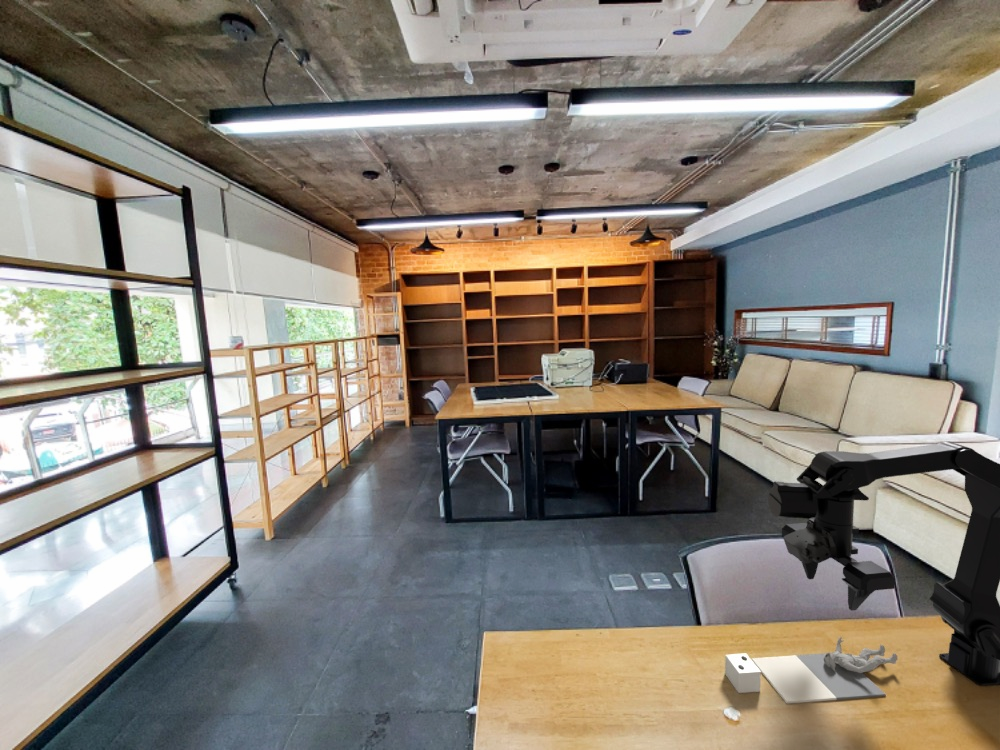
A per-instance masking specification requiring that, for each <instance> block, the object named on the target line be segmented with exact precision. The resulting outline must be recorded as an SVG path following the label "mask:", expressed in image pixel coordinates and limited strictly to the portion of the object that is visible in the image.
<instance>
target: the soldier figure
mask: <svg viewBox="0 0 1000 750" xmlns="http://www.w3.org/2000/svg"><path fill="white" fill-rule="evenodd" d="M843 638H844V637H843V636H840V637H838V638H837V639H838V640H837V642H836V646H835V650H834V652H833V653H834V654H833V655H832V657H833V658H834V659H833V658H832V657H831V655H830V653H831V652H826V653H827V654H826V655H825V657H824V662H825V663H826V664H827V665H828V666H829V667H831V668H832V669H833V670H834V671H835V667H836V665H835V663H837V664H839V665H840V666H841V667H843V668H845V669H847V670H850V671H854V672H858V673H863V674H864V673H868V672H871V671H873V670H874V669H877V668H878V666H880V665H882V664H883V665H884V664H885V665H886V664H892V665H895V664H896V663H897V661H898V655H897V653H895V652H893V653H892V655H891V656H889V657H884V656H885V652H886V648H885V646H884V644H880V645H879V648H878V649H870V648H867V647H865V648H863V649H862V650H861V651H860V652H859V654H858V655H855V654H854V655H853V654H852V653H843V652H842V646H841V644H842V643H843V642H844V640H842V639H843ZM872 656H873V657H872ZM871 657H872V658H871Z"/></svg>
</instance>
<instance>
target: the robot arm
mask: <svg viewBox="0 0 1000 750" xmlns="http://www.w3.org/2000/svg"><path fill="white" fill-rule="evenodd" d="M951 470H953V471H954V472H956V473H959V474H960V475H962V476H963V477H964V491H965V494H966V497H967V498H968V502H969V503H970V507H971V512H970V516H969V520H968V524H967V528H966V532H965V536H964V539H963V542H962V543H963V544H962V548H961V551H960V556H959V560H958V564H957V568H956V571H955V574H954V578H953V579H952V580H949V581H948V582H946V583H944V584H943V583H940V582H935V583H933V592H932V594H931V596H930V597H929V601H930V602H932V607H933V610H935V612H936V613H937V614H938V616H940V618H941V620H942V622H943V623H945V624H946V625H947V626H949V627H950V628H952V629H953V633H951V635H950V642H949V645H948V646H949V647H948V652H947V653H945V652H944V653H939V654H938V655H939V656H938V657H939V658H940V659H941V660H943V661H945V662H946V663H947V664H948V665H950V666H951V667H953V668H954V669H955V670H957V671H958V672H960V673H961V674H963V675H964V677H967V678H968V679H969V680H971V681H972V682H974V683H975V684H977V685H978V686H981V687H983V686H984V687H985V686H995V685H996V686H997V685H1000V603H999V600H998V597H997V592H998V588H999V585H1000V463H999V462H997V461H994V460H992V459H991V458H988V457H987V456H984V455H983V454H981V453H979V452H978V451H976V450H974V449H973V448H971V447H968V446H964V445H962V444H959V443H955V442H952V441H940V442H936V443H934V444H927V445H920V446H913V447H906V448H905V447H904V448H898V449H891V450H884V451H877V452H868V453H865V452H863V453H862V452H861V453H859V452H851V451H838V450H836V451H831V450H829V451H820V452H818V453H816V454H815V455H814V457H813V458H812V460H811V462H810V464H809V465H807V467H806V468H805V469H804V470H803V471H802V472H801V473H800V475H798V476H797V478H796V481H797V482H784V481H777V480H776V481H774V482H773V486H772V487H770V489H769V491H768V493H767V502H768V506H769V507H768V508H769V510H770V512H771V514H772V515H773V516H774V517H775V518H786V519H787V518H791V519H807V520H808V521H807V522H799V523H797V522H796V523H786V524H785V525H784V526H783V527H782V528H781V537H782V539H783V542H784V544H785V547H786V550H787V552H788V553H789V554H790V555H792V556H794V557H795V558H796V559H798V561H800V562H801V564H802V567H803V569H804V572H805V575H806V578H807V580H814V578H815V576H816V574H817V569H818V566H819V564H820V563H822V562H825V561H828V560H830V559H832V560H833V561H836V562H837V563H839V565H840V564H841V565H842V566H843V568H842V574H843V577H842V578H841V580H842V581H843V582H844V584H845V585H847V605H848V610H850V612H851V611H852V612H853V611H857V610H858V609H859V607H860V606H861V605H862V604H863V603H864V602H865V601H866V600H867V599H868V598H869V597H870V595H872V594H873V593H874V592H875V591H883V590H893V589H895V586H896V575H894V574H893V573H892V572H891V571H889V570H888V569H885V567H882V566H881V565H879V564H878V563H875V562H874V561H872V560H866V561H864V560H863V561H858V560H857V559H856V558H853V557H852V555H858V554H859V549H858V548H857V547H855V546H854V545H853V535H856V534H860V528H859V527H858V526H855V525H854V511H855V510H854V509H855V508H854V507H855V501H869V500H870V498H869V496H867V494H864V493H863V492H862V490H861V489H860V488H865V487H868V486H869V485H871V484H872V483H874V482H875V481H876V480H880V479H884V478H892V477H900V476H908V475H917V474H924V473H925V474H926V473H933V472H941V471H951ZM817 479H819V480H821V481H822V482H823V483H824V484H822V483H820V482H819V481H817Z"/></svg>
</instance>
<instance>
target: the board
mask: <svg viewBox="0 0 1000 750" xmlns="http://www.w3.org/2000/svg"><path fill="white" fill-rule="evenodd" d="M827 653H828V652H823V653H809V654H796V655H794V654H793V655H779V656H766V657H752V658H751V660H752V661H753V663H754V664H755V665H756V666H757V667H758V669H759V670H760V671H761V675H763V676H764V677H765V678H766V680H767V681H768V683H770V685H771V686H772V687H773V689H774V690H775V691H776V692H777V693H778V695H779V697H781V699H782V700H783V701H784V702H785V703H786V704H797V703H798V704H799V703H801V704H802V703H813V702H824V701H839V700H851V699H853V700H854V699H863V698H865V699H866V698H876V697H877V698H878V697H880V698H881V697H886V695H887V694H886V692H884V691H883V690H882V689H881V688H880V687H879V686H878V685H876V684H875V683H874V682H873V681H872V680H871V679H870V678H869V677H867V675H865V673H864V672H863V673H858V672H854V671H850V670H847V669H845V668H843V667H841V666H840V665H839V664H837V663H835V665H836V667H835V671H834V670H833V669H832V668H831V667H829V666H828V665H827V664H826V663H825V662H824V657H825V655H826V654H827ZM829 653H830V655H831V657H832V655H833V654H834V653H835V652H829ZM832 658H833V657H832ZM833 659H834V658H833Z"/></svg>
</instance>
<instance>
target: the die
mask: <svg viewBox="0 0 1000 750" xmlns="http://www.w3.org/2000/svg"><path fill="white" fill-rule="evenodd" d="M724 661H725V663H724V674H725V675H726V678H728V680H729V681H730V683H731V685H732V686H733V687H734V689H735V691H736V692H737V693H738V694H745V693H759V692H761V676H762V672H761V671H760V670H759V669H758V667H757V666H756V665H755V664H754V663H753V661H752V658H750V657H749V655H748V654H747V653H746V652H744V653H732V654H725V660H724Z"/></svg>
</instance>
